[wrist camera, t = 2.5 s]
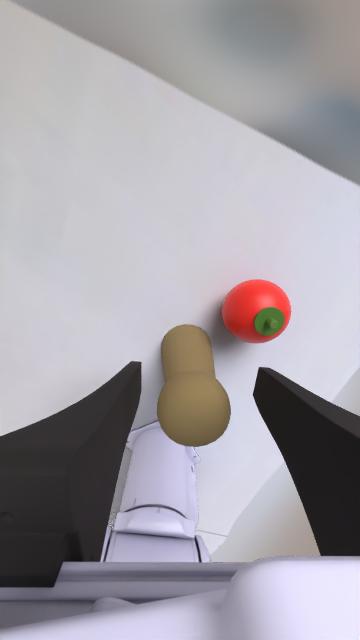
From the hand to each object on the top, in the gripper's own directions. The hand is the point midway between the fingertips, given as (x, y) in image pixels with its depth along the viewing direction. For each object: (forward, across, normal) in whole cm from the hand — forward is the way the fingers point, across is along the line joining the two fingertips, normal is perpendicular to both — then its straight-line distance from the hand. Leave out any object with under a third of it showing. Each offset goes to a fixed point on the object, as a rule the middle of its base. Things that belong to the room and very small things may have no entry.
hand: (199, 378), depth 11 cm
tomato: (+10, -6, -3) cm, 12 cm away
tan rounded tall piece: (+11, 0, +3) cm, 11 cm away
